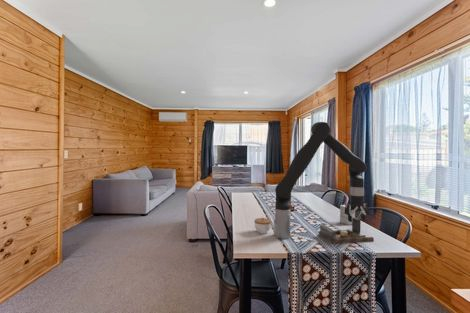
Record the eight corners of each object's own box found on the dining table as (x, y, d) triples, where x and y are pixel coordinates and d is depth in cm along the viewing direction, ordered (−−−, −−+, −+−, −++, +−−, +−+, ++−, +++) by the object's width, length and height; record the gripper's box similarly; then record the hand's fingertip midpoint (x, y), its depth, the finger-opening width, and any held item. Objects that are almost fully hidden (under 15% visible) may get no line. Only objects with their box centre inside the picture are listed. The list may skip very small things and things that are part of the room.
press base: (331, 245, 131) (332, 232, 131) (318, 236, 145) (319, 224, 145) (373, 243, 135) (373, 230, 135) (357, 234, 149) (357, 223, 149)
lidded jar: (274, 232, 152) (274, 218, 152) (263, 236, 145) (263, 221, 145) (262, 228, 160) (262, 214, 160) (250, 231, 153) (251, 217, 153)
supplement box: (347, 221, 179) (347, 204, 179) (355, 223, 172) (355, 206, 172) (339, 221, 177) (339, 205, 176) (347, 224, 170) (347, 207, 169)
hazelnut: (342, 239, 138) (342, 233, 138) (338, 236, 142) (338, 230, 142) (349, 238, 138) (349, 232, 138) (344, 236, 142) (344, 230, 142)
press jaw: (359, 240, 136) (359, 221, 135) (347, 233, 146) (347, 216, 146) (365, 240, 136) (365, 221, 136) (352, 233, 147) (353, 215, 147)
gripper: (350, 195, 136) (349, 223, 136) (372, 195, 138) (371, 222, 138) (342, 193, 143) (342, 220, 143) (363, 192, 145) (363, 219, 146)
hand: (356, 221), depth 141 cm, fingers open, 8 cm apart
